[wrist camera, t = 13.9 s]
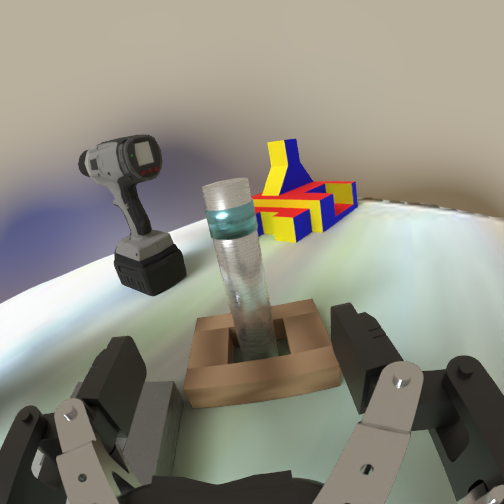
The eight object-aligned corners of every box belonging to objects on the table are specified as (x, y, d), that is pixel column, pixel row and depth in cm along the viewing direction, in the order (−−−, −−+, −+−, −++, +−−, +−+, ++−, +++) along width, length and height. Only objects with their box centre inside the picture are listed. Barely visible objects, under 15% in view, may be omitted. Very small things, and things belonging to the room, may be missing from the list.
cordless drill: (127, 260, 59) (98, 149, 50) (200, 277, 44) (163, 115, 35) (98, 275, 53) (64, 158, 44) (162, 302, 39) (114, 123, 30)
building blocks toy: (231, 236, 62) (214, 152, 55) (294, 205, 79) (284, 139, 72) (307, 245, 50) (293, 139, 43) (357, 208, 66) (349, 133, 60)
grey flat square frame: (58, 480, 12) (39, 464, 12) (90, 399, 22) (78, 382, 21) (168, 503, 12) (152, 490, 11) (183, 400, 22) (173, 381, 21)
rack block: (193, 408, 21) (183, 389, 20) (203, 336, 30) (197, 318, 29) (340, 385, 20) (340, 364, 19) (313, 318, 30) (312, 298, 29)
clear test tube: (244, 376, 23) (196, 191, 18) (243, 352, 27) (203, 184, 21) (282, 370, 23) (250, 181, 18) (278, 346, 27) (248, 175, 21)
